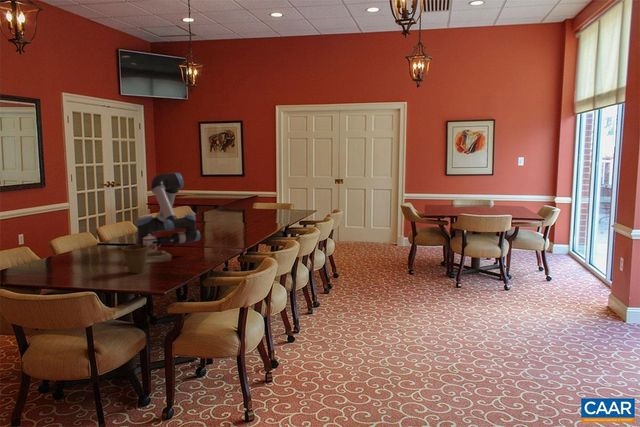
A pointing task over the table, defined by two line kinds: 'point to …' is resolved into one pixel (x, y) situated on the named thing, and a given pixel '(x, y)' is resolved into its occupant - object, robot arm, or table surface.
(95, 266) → the table surface
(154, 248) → the teacup with lid
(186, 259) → the table surface
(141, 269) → the plant pot
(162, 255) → the square tray
